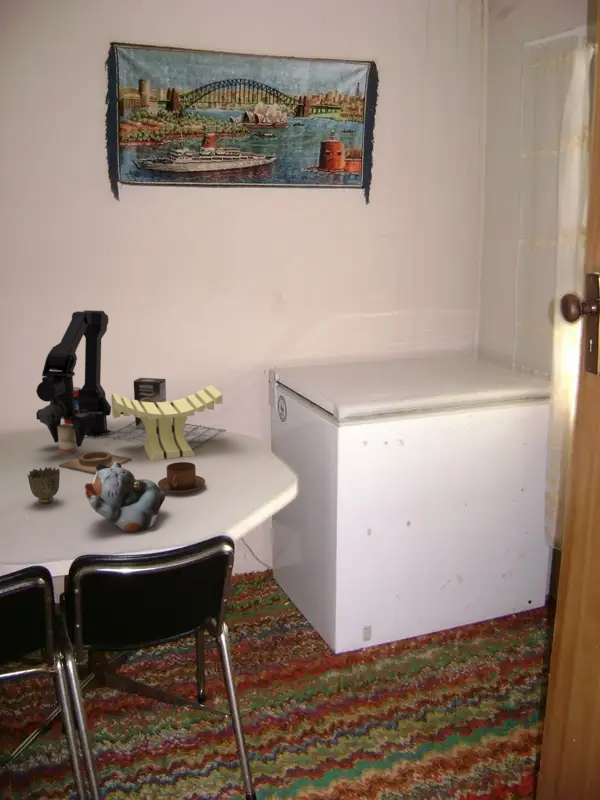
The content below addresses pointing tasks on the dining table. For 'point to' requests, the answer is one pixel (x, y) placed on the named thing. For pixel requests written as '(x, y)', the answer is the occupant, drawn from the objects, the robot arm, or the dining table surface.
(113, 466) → the lucky cat figurine
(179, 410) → the slatted curved stool
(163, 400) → the coffee box
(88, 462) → the walnut socket
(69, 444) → the beige rounded peg
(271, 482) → the dining table surface
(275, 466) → the dining table surface
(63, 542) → the dining table surface
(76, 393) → the beverage can
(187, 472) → the cup and saucer
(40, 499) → the cup
